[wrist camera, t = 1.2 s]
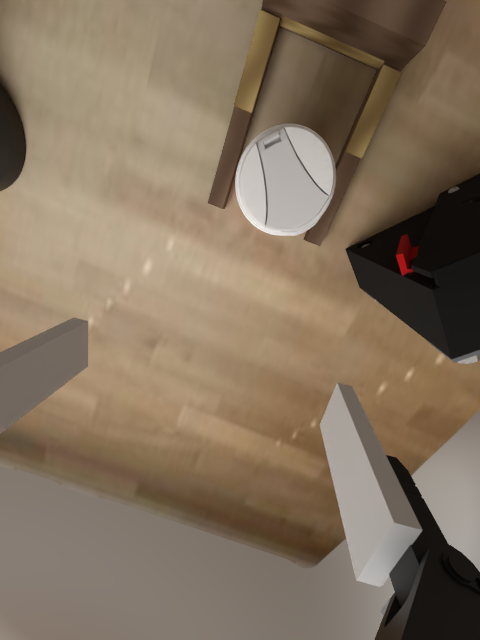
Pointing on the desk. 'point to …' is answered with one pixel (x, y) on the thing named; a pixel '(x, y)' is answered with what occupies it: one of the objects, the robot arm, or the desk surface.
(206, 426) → the desk surface
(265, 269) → the desk surface
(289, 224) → the coffee cup
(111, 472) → the desk surface
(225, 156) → the guide channel
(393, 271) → the electrical component
